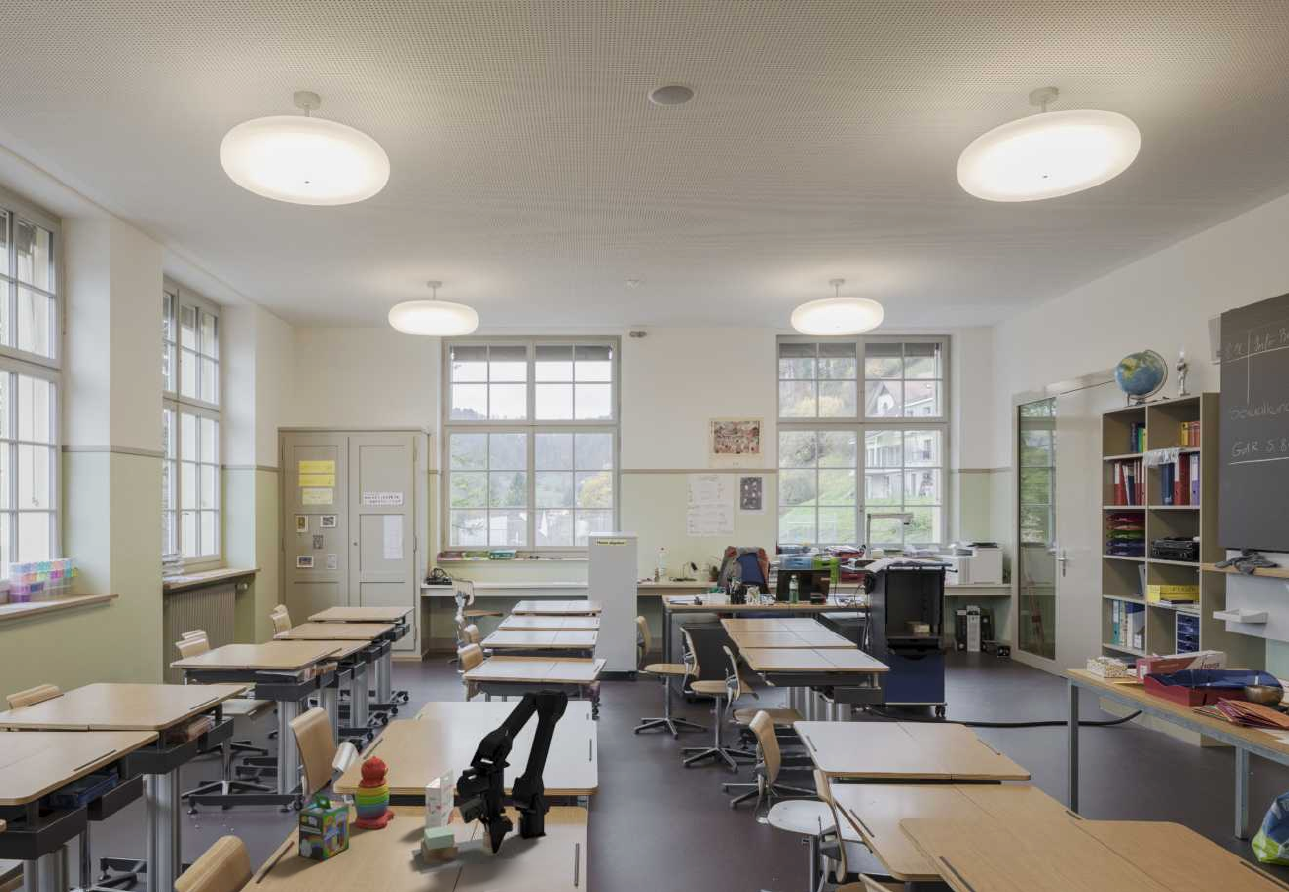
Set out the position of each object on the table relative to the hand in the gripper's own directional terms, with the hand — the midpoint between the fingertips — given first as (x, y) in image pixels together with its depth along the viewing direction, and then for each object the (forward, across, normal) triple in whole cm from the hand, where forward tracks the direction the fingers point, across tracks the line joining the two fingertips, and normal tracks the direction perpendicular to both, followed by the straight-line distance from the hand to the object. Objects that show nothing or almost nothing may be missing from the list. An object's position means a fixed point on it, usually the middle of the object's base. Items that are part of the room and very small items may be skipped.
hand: (492, 849), depth 213 cm
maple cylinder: (+1, 0, 0) cm, 1 cm away
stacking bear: (+2, -36, -26) cm, 44 cm away
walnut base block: (+1, -4, -13) cm, 14 cm away
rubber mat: (+1, -2, -7) cm, 8 cm away
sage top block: (-2, -4, -13) cm, 14 cm away
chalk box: (+2, -20, -40) cm, 45 cm away
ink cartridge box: (+2, -26, -9) cm, 28 cm away
